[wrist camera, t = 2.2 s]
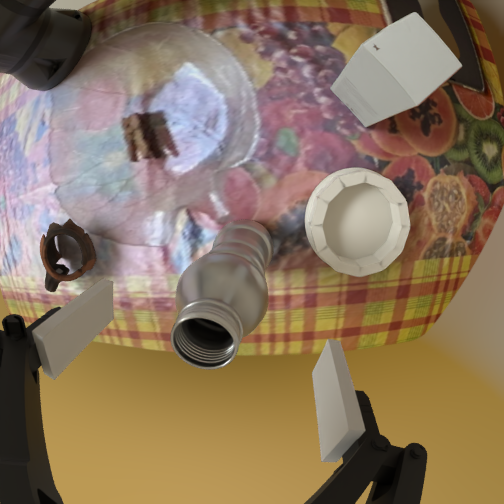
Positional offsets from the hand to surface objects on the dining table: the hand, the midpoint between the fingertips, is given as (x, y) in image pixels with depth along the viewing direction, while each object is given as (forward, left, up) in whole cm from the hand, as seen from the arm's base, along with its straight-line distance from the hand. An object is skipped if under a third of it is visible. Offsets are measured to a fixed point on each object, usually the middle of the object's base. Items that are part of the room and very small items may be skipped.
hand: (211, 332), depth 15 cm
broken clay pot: (+7, -26, -19) cm, 33 cm away
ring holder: (-6, +12, -19) cm, 23 cm away
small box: (-22, +10, -19) cm, 31 cm away
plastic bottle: (0, 0, -19) cm, 19 cm away
